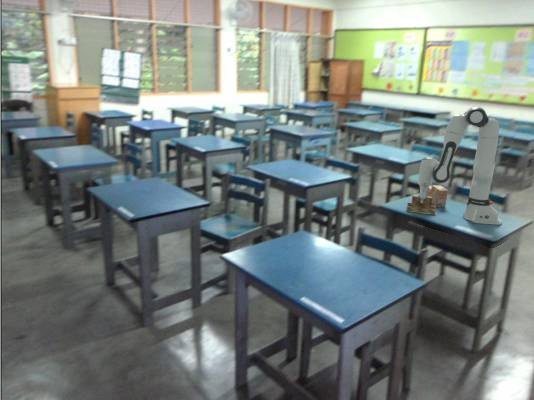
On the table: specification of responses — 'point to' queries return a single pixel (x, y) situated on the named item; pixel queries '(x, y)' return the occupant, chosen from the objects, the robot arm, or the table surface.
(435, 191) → the stack of blocks
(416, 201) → the walnut block
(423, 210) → the tan shallow tray
